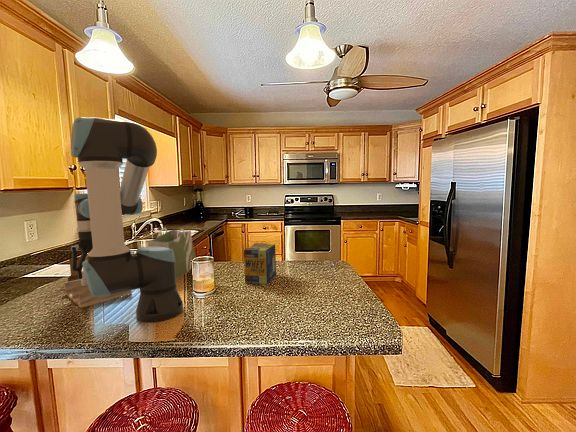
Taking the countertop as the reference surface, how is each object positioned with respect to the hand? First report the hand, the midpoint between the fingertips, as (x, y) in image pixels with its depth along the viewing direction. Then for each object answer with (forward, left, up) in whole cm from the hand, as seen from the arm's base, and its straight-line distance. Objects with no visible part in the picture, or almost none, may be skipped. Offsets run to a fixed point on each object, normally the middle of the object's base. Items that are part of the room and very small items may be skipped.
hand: (93, 283), depth 130 cm
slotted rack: (-5, 0, -4) cm, 6 cm away
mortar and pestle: (+24, +1, -4) cm, 24 cm away
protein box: (-44, -56, -4) cm, 71 cm away
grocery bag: (0, -36, -4) cm, 36 cm away
